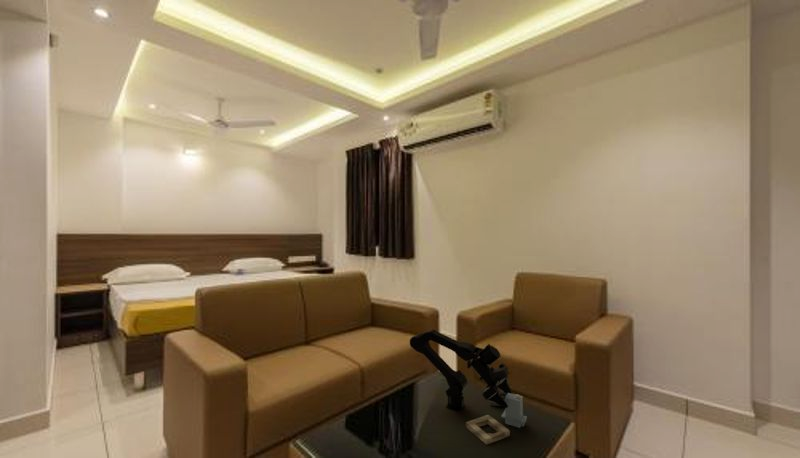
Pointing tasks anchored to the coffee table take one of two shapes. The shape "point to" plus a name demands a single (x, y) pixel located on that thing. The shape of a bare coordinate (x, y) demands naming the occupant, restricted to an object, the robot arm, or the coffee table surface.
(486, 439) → the plate
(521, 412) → the servo
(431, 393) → the coffee table surface
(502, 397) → the mini dv tape
